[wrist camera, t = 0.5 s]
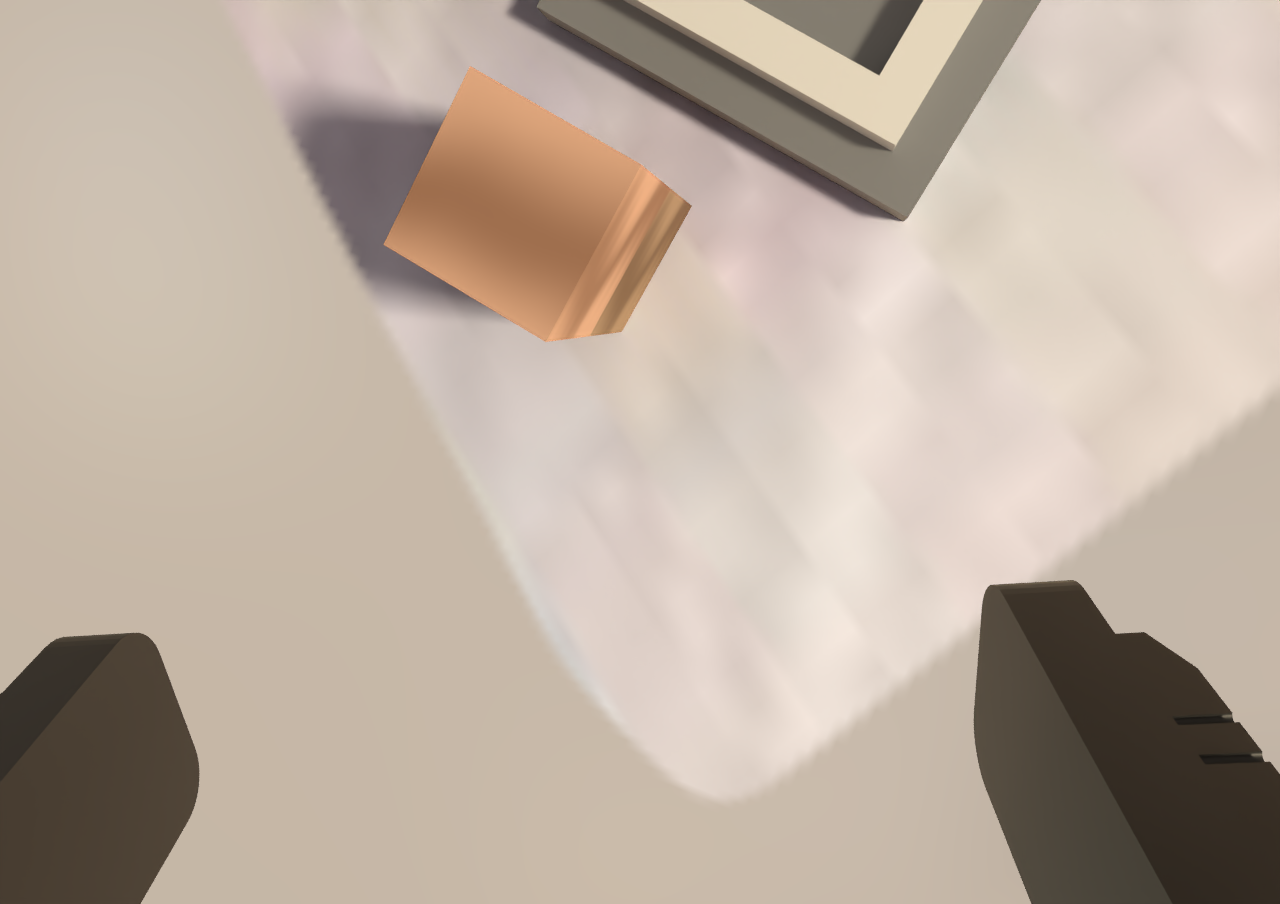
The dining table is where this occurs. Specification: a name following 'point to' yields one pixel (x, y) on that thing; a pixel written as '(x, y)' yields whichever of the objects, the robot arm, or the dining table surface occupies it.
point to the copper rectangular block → (535, 216)
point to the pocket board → (820, 74)
